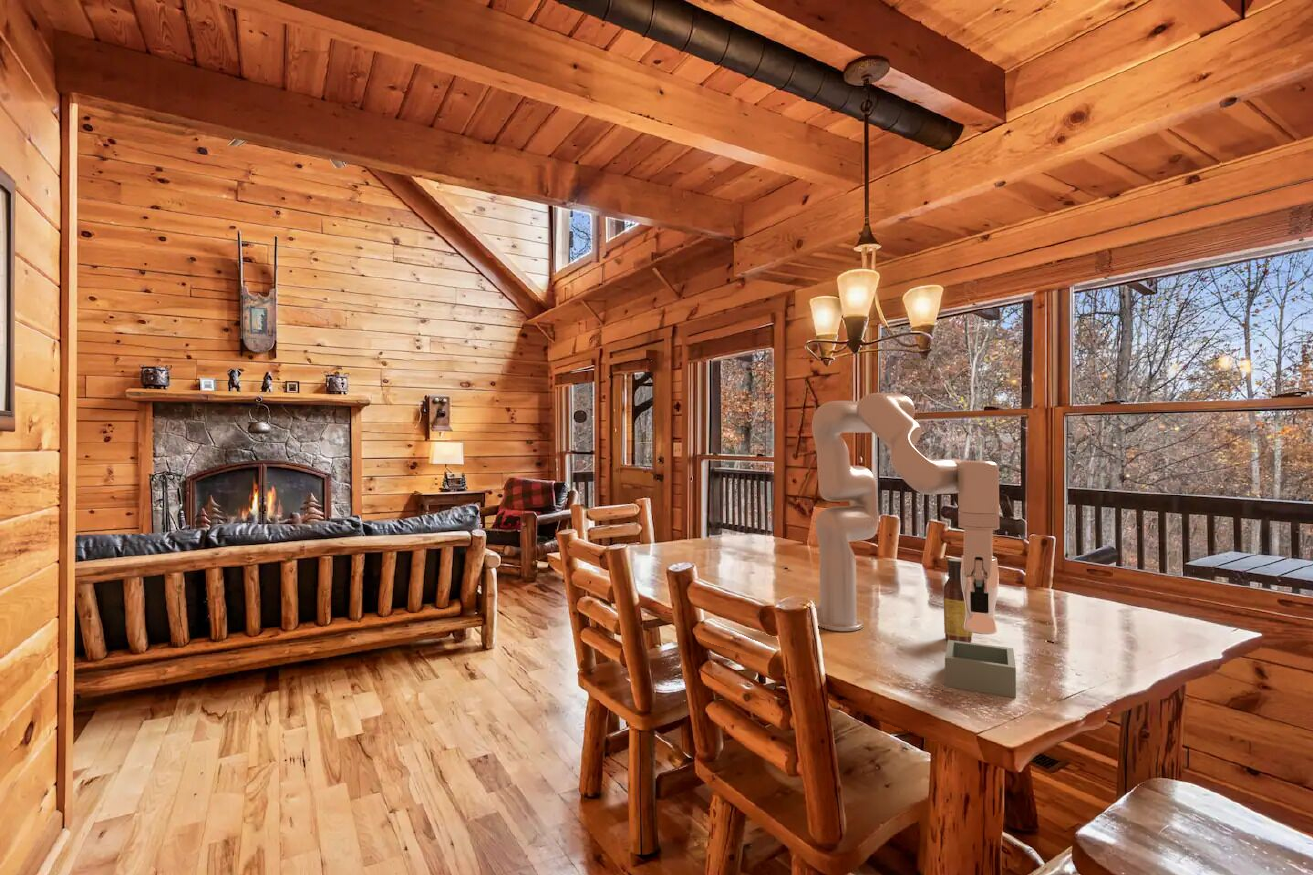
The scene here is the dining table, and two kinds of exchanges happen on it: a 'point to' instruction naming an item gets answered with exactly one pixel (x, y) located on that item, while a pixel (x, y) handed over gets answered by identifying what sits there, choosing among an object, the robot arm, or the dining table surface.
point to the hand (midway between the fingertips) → (979, 607)
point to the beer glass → (986, 621)
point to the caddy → (980, 668)
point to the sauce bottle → (955, 605)
